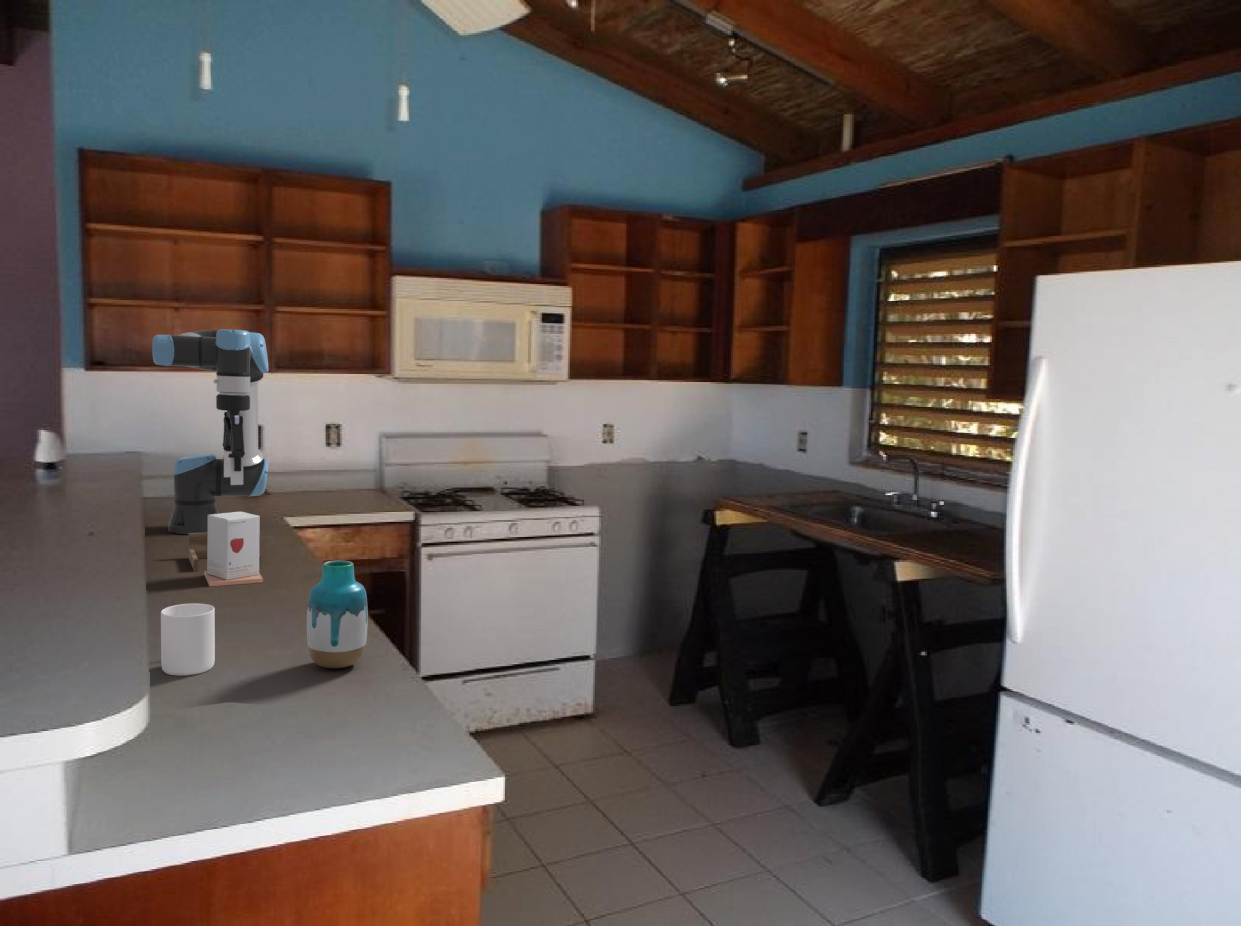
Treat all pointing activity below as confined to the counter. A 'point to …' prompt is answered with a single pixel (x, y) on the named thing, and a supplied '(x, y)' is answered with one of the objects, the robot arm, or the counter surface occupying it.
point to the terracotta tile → (232, 580)
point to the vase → (337, 617)
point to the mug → (187, 639)
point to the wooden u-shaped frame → (200, 548)
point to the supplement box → (233, 545)
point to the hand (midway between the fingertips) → (233, 480)
